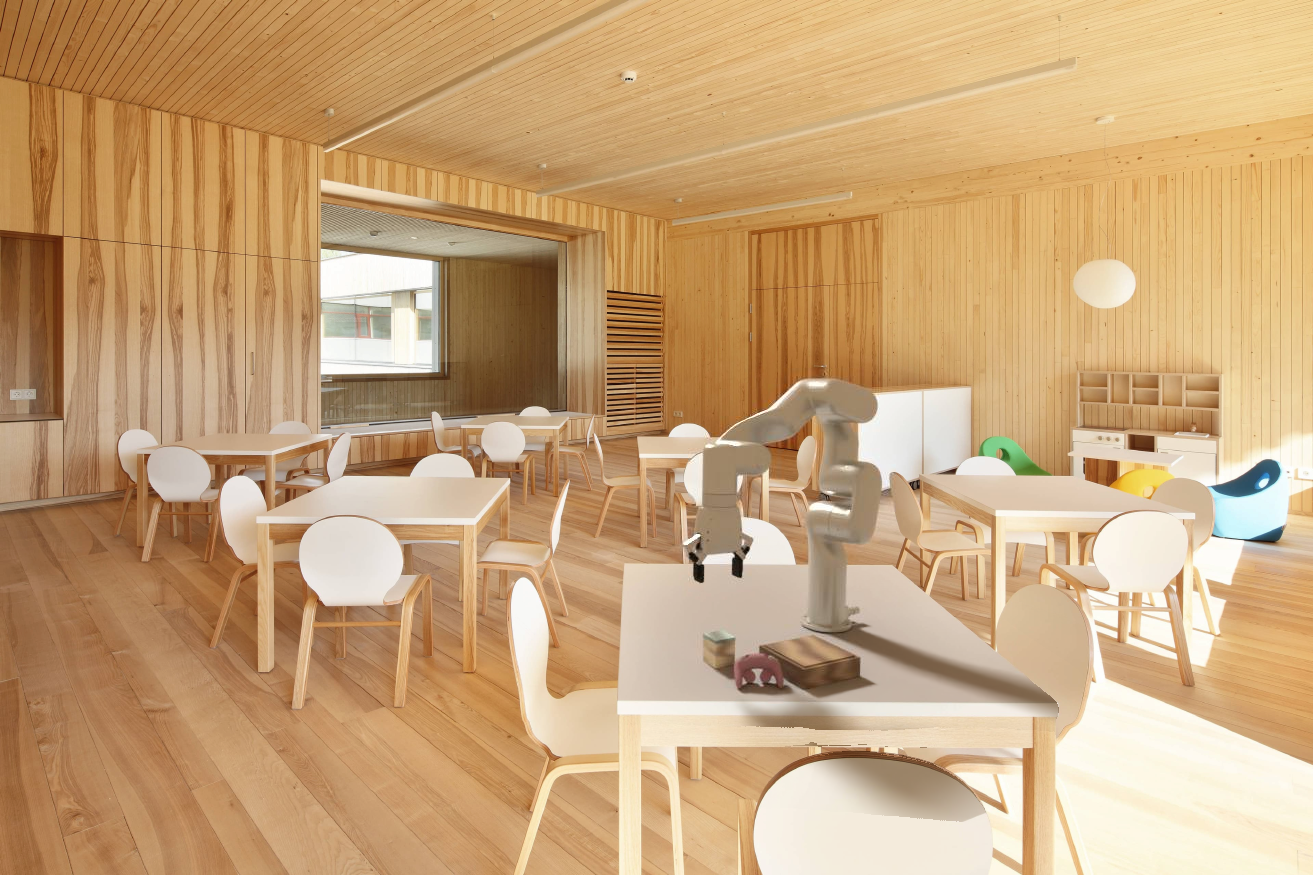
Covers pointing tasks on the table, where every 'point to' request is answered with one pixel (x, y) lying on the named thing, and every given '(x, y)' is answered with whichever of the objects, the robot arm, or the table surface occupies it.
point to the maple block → (718, 649)
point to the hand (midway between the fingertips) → (718, 579)
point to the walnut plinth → (812, 661)
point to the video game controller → (757, 662)
